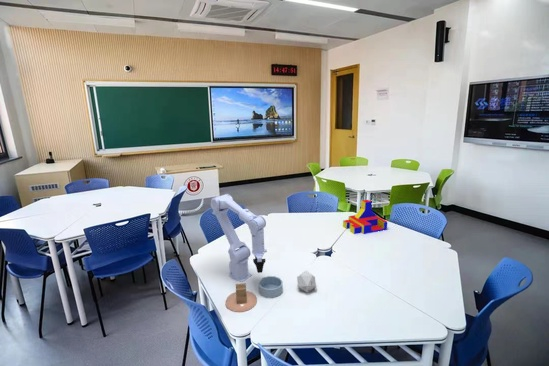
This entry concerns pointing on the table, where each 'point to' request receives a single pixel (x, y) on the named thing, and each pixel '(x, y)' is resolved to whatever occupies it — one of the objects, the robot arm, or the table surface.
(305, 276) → the die
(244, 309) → the peach round plate
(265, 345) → the table surface
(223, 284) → the table surface
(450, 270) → the table surface
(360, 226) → the building blocks toy
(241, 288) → the walnut block
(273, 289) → the bowl
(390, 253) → the table surface
